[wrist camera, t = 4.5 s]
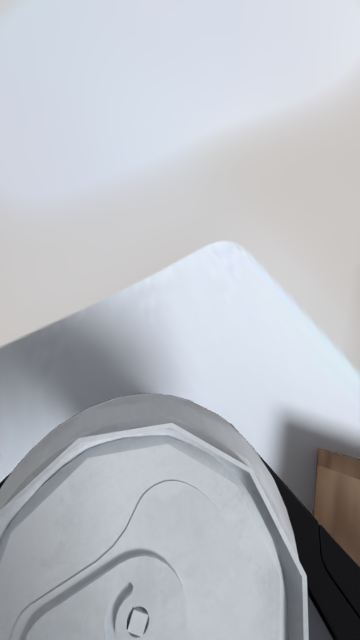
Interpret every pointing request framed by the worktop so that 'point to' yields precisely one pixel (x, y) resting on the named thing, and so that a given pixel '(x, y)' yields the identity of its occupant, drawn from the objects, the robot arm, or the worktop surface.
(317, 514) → the socket block
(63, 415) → the worktop surface
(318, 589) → the robot arm
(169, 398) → the beer can
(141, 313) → the worktop surface
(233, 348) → the worktop surface
